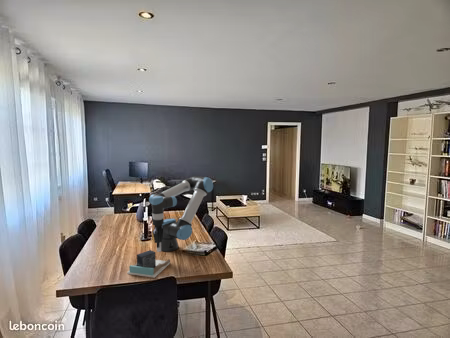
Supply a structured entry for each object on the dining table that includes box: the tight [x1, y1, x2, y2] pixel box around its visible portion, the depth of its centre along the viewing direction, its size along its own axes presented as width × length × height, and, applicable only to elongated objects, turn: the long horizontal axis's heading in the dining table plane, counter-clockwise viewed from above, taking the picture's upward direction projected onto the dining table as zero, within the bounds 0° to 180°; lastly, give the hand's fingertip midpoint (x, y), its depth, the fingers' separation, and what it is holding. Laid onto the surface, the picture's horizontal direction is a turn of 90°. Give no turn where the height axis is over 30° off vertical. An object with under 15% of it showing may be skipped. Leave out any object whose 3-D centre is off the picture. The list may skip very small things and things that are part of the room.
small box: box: [136, 249, 157, 268], centre depth 182 cm, size 11×6×10 cm, turn 141°
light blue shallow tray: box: [126, 259, 171, 279], centre depth 185 cm, size 22×19×5 cm
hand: (159, 251), depth 197 cm, fingers closed
